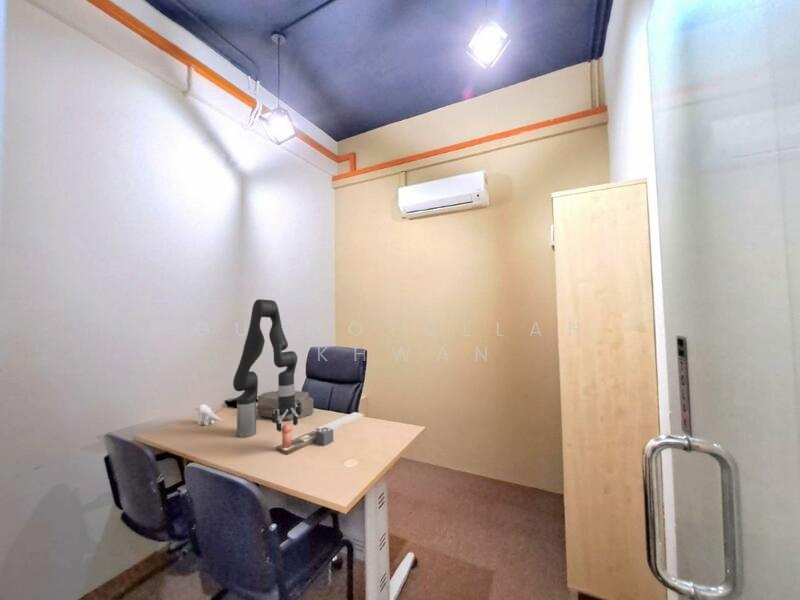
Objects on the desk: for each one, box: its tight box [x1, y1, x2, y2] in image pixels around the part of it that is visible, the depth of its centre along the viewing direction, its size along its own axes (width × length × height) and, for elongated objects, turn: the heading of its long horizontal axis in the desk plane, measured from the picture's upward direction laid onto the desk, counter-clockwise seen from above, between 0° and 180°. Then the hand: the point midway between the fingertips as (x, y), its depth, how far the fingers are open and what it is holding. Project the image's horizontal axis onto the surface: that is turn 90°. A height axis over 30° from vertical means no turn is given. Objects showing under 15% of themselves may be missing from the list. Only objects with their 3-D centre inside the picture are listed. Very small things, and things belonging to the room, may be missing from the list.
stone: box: [256, 390, 314, 421], centre depth 195 cm, size 37×26×15 cm
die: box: [315, 427, 334, 447], centre depth 151 cm, size 6×6×6 cm
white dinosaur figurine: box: [193, 403, 224, 427], centre depth 179 cm, size 7×24×11 cm, turn 70°
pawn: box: [281, 423, 293, 448], centre depth 144 cm, size 5×5×11 cm
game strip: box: [276, 430, 317, 456], centre depth 151 cm, size 9×22×2 cm, turn 145°
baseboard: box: [315, 409, 365, 430], centre depth 179 cm, size 30×3×10 cm
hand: (287, 427), depth 144 cm, fingers open, 8 cm apart
